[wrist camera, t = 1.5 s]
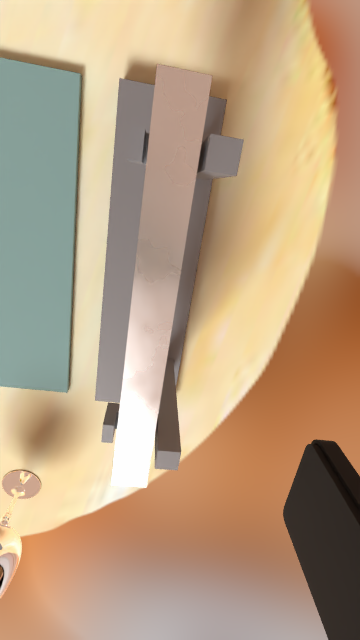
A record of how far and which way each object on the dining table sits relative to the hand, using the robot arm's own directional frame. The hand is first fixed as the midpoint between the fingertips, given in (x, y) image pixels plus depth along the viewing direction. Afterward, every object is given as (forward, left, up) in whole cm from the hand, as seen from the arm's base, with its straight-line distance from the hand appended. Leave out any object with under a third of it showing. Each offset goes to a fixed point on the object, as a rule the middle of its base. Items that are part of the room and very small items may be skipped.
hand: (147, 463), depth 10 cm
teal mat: (0, -12, -23) cm, 26 cm away
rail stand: (0, 0, -23) cm, 23 cm away
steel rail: (0, 0, -13) cm, 13 cm away
